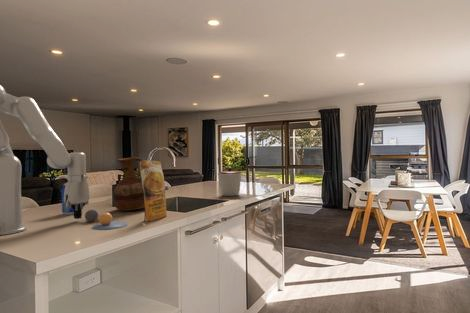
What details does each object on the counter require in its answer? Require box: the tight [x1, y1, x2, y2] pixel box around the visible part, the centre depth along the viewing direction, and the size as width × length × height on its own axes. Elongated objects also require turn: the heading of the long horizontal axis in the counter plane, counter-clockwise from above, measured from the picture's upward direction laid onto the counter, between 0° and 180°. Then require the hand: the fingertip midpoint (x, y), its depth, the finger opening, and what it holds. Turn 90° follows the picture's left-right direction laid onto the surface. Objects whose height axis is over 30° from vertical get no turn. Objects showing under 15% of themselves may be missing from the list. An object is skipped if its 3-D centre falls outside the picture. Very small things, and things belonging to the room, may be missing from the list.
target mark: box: [91, 221, 128, 231], centre depth 129 cm, size 14×14×1 cm
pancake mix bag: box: [138, 159, 168, 222], centre depth 143 cm, size 7×19×28 cm, turn 157°
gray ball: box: [84, 209, 99, 223], centre depth 138 cm, size 6×6×6 cm
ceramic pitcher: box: [113, 156, 145, 211], centre depth 169 cm, size 20×20×30 cm
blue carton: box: [61, 183, 74, 216], centre depth 159 cm, size 8×8×16 cm
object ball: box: [98, 212, 113, 225], centre depth 130 cm, size 6×6×6 cm
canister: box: [217, 166, 243, 197], centre depth 222 cm, size 18×18×21 cm
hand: (77, 218), depth 139 cm, fingers closed
